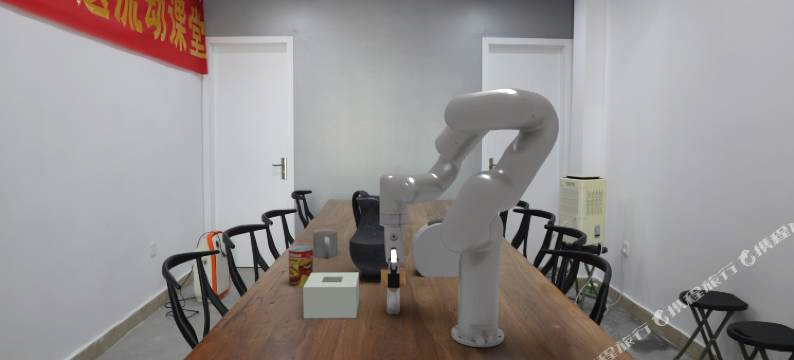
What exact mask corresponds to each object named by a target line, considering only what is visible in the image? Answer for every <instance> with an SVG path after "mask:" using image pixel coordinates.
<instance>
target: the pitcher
mask: <svg viewBox="0 0 794 360" xmlns="http://www.w3.org/2000/svg"><path fill="white" fill-rule="evenodd" d="M351 197H352V198H351V207H352V214H353V218H354V222H355V227H356V230H355V232H354V234H353V235H352V236H351V237H350V239H349V244H348V247H349V249H348V250H349V257H350V259H351V261H352V262H353V264H354V267H356V269H358V270H359V271H360V272H361V273H362V274H361V275H360V279H361V280H362V279H363V281H365V282H371V281H375V282H381V269H382V268H385V267H387V266H389V265H388V263H387V262H386V257H385V246H384V226H381V225H380V195H373V194H371V195H370V194H369V193H368V191H366V190H361V189H360V190H356V191H354V192H353V194H352V196H351Z"/></svg>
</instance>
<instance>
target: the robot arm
mask: <svg viewBox="0 0 794 360" xmlns="http://www.w3.org/2000/svg"><path fill="white" fill-rule="evenodd" d="M443 115H444V116H443V117H444V122H445V124H446V126H445V128H444V129H443V130H442V131H441V133H440V134H439V135H438V136H437V137H436V139H435V141H434V147H435V149H436V151H437V153H438V154H439V156H438V159H437V161H436V162H435V163H434V165H432V167H431V168H430V169H429V170H428V172H426V173H421V174H408V175H404V174H400V173H385V174H382V175H381V176H380V177H379V196H380V225H381V226H384V246H385V257H386V262H387V263H388V265H389V266H387V267H389V273H388V288H399V287H400V273H399V267H400V263H401V264H404V263H405V233H404V232H405V231H404V230H405V229H404V227H406V226H408V205H415V204H421V203H426V202H432V201H436V200H438V198H440V197H441V196H443V194H445V193H446V192H447V190H448V189H449V188H450V187H451V186H452V185H453V184H454V182H455V181H456V179H457V178H458V176H459V173H460V170H461V167H462V164H463V161H465V159H466V158H467V157H468V156H469V155H470V154H471V152H472V151H473V150H474V148H476V146H477V145H478V144H479V143H480V142H482V140H483V139H484V137H485V136H486V135H487V134H488V133H489V132H490V131H504V130H506V131H507V130H509V131H510V130H511V131H518V133H517V135H516V136H515V138H514V139H513V140H512V141H511V142H510V143H509V145H507V146H506V148H505V150H504V152H502V155H501V157H500V159H499V160H498V162H497V163H496V164H495V165H494V167H493V168H492V169H490V170H481V171H478V172H476V173H474V174H473V175H471V176H470V177H469V178H468V179H466V181H465V182H464V183H463V185H462V187H461V188H460V190H459V191H458V193H457V194H456V196H455V197H454V200H453V201H452V203H451V204H450V206H449V209H448V210H447V211H446V213H445V215H444V217H443V218H442V219H443V221H442V224H441V228H440V236H441V240H442V242H443V244H444V246H445V247H446V248H447V249H448V250H450V251H452V252H454V253H460V259H459V277H457V278H458V282H457V283H458V286H457V287H458V288H457V289H458V292H457V293H458V294H457V324H456V325H455V326H453V327H452V328H451V332H450V333H451V334H450V335H451V338H452V339H453V340H454V341H455V342H457V343H459V344H462V345H465V346H468V347H472V348H473V347H474V348H490V347H496V346H498V345H500V344H502V343H503V342H504V341H505V333H504V331H503V330H502V329H501V328H499V292H500V289H499V288H500V287H499V281H500V258H501V249H502V243H503V238H504V223H503V221H502V217H501V216H500V214H499V213H502V212H505V211H506V212H507V211H509V210H512V209H513V208H515V207H516V206H517V204H518V203H519V202H520V201H521V199H522V198H523V196H524V194H525V193H526V191H527V189H528V188H529V187H530V185H531V184H532V181H534V179H535V177H536V176H537V174H538V172H539V170H540V169H541V167H542V166H543V164H544V163H545V161H546V159H547V158H548V157H549V155H550V154H551V152H552V150H553V149H554V147H555V144H556V142H557V139H558V136H559V130H560V123H559V122H560V120H559V117H558V114H557V111H556V109H555V107H554V105H553V104H552V103H551V101H550V100H549V99H548V98H546V97H545V96H543V95H542V94H540V93H537V92H534V91H532V90H531V91H530V90H525V89H520V88H516V87H515V88H514V87H503V88H497V89H490V90H483V91H476V92H469V93H461V94H459V95H455V96H454V97H453V98H452V99H451V100H450V101H449V102H447V104H446V106H445V109H444V113H443ZM400 288H401V287H400Z"/></svg>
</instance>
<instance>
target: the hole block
mask: <svg viewBox="0 0 794 360" xmlns="http://www.w3.org/2000/svg"><path fill="white" fill-rule="evenodd" d="M359 286H360V272H355V271H354V272H353V271H352V272H313V273H311V274H310V276H309V278H308V280H307V281H306V283H305V285H304V287H302V290H303V291H302V295H303V298H302V299H303V301H302V303H303V319H357V315H358V309H359V303H360V287H359Z"/></svg>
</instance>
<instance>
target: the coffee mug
mask: <svg viewBox="0 0 794 360" xmlns="http://www.w3.org/2000/svg"><path fill="white" fill-rule="evenodd" d="M312 239H313V240H312V244H313V245H312V247H313V257H316V258H322V259H324V258H325V259H326V258H327V259H328V258H333V257H336V256H338V230H337V229H333V228H332V229H331V228H321V229H315V230H313V231H312Z"/></svg>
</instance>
